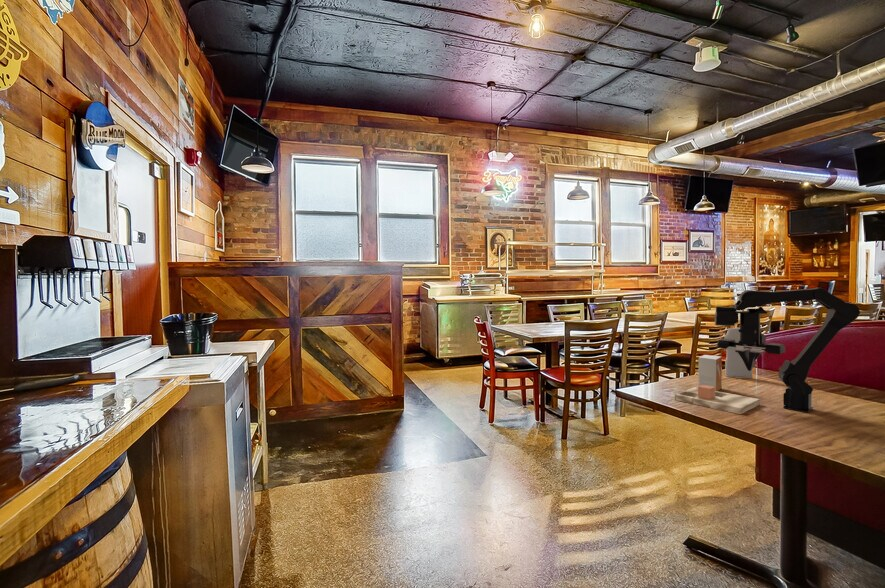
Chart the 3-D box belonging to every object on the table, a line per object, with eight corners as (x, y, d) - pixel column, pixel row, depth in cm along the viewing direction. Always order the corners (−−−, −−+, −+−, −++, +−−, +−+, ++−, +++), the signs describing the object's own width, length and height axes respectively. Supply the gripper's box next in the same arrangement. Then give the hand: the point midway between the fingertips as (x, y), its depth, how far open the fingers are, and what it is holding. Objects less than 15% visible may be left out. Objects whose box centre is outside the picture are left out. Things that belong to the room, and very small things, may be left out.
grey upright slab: (752, 377, 187) (753, 327, 186) (754, 379, 183) (754, 328, 182) (723, 375, 192) (724, 326, 191) (724, 377, 188) (724, 327, 187)
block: (715, 397, 152) (715, 386, 152) (710, 400, 150) (710, 388, 150) (703, 395, 155) (703, 384, 155) (698, 397, 153) (698, 386, 153)
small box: (716, 392, 165) (716, 359, 165) (698, 389, 170) (698, 357, 169) (722, 388, 171) (722, 356, 170) (704, 385, 176) (704, 354, 175)
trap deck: (759, 404, 150) (759, 399, 149) (740, 414, 140) (740, 408, 140) (695, 392, 167) (695, 387, 167) (674, 399, 158) (674, 394, 158)
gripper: (790, 326, 147) (790, 371, 147) (729, 322, 162) (729, 363, 162) (779, 329, 140) (779, 376, 141) (716, 325, 155) (716, 367, 156)
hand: (749, 370), depth 150 cm, fingers closed
